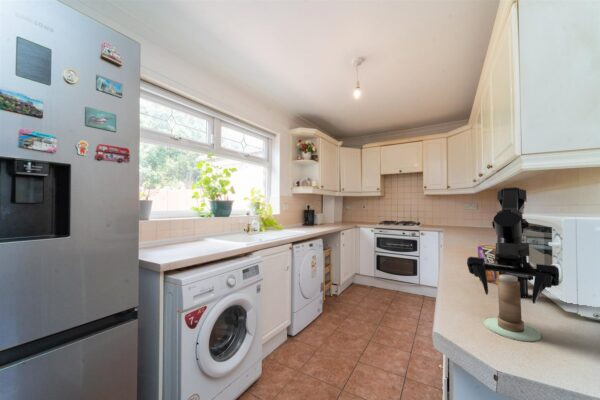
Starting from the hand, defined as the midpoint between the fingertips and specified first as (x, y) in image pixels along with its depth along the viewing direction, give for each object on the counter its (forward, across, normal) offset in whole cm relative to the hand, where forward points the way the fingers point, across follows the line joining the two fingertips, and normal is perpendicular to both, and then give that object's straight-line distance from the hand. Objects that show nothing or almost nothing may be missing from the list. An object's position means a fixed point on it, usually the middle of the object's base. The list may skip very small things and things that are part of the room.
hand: (509, 297), depth 62 cm
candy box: (-26, -7, +38) cm, 47 cm away
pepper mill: (+5, 0, +6) cm, 8 cm away
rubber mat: (+5, 0, +6) cm, 8 cm away
